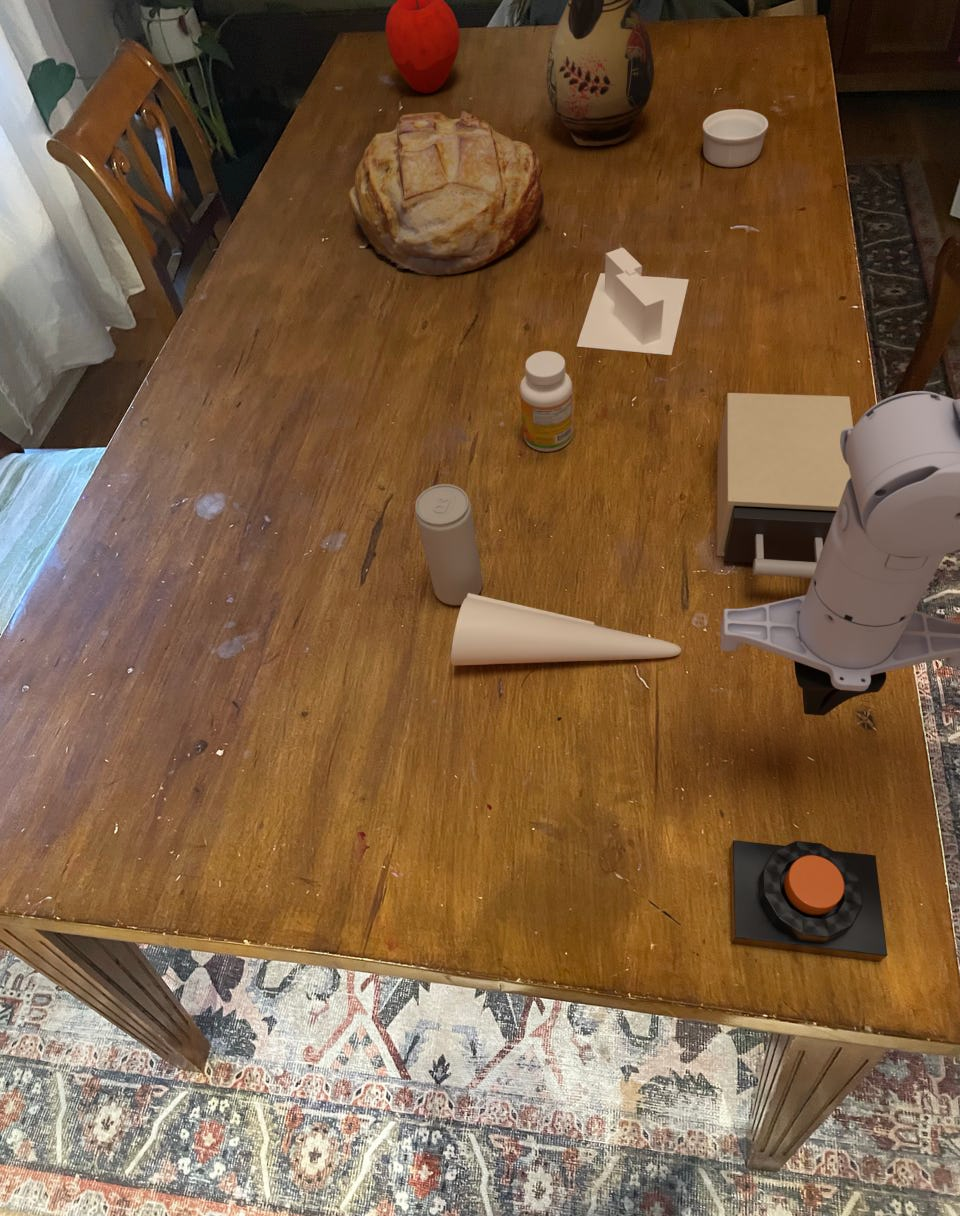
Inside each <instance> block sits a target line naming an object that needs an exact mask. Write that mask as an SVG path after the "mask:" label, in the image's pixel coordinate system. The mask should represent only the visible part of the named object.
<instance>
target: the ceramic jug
mask: <svg viewBox="0 0 960 1216" xmlns="http://www.w3.org/2000/svg"><path fill="white" fill-rule="evenodd" d="M654 78H655V64H654V55H653V49H652V44H651V39H650V36H649V32H648V29H647V27H646V25H645V23H644V20H643V18H642V16H641V14H640V12H639V10H638V8H637V7H636V4H635V2H634V0H568V1H567V3H566V6H565V7H564V10H563V12H562V15H561V16H560V19H559V21H558V22H557V26H556V28H555V31H554V32H553V36H552V39H551V42H550V47H549V50H548V58H547V66H546V89H547V95H548V99H549V100H548V101H549V103H550V104H551V107H552V109H553V112H554V113H555V115H556V116H557V117H558V119H559V120H560V121H561V122H562V123H563V124H564V125H565V127H566V128H567V129H568V130H569V133H570V136H571V137H572V139H573V141H574V142H575V144H576V145H577V146H589V147H601V146H611V145H616V144H619V143H621V142H623V141H625V140H627V139H629V138H630V137H632V136H633V135H634V130H633V126H634V124H635V121H636V120H637V119H638V118H639V116H640V115H641V114H642V112H643V110H644V109H645V108H646V105H647V104H648V101H649V99H650V96H651V92H652V90H653V87H654Z"/></svg>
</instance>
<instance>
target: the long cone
mask: <svg viewBox="0 0 960 1216" xmlns="http://www.w3.org/2000/svg"><path fill="white" fill-rule="evenodd" d="M681 653H682V648H681V647H680V646H679V645H678V644H676V643H672V642H670V641H666V640H663V639H659V638H655V637H650V636H645V635H640V634H635V633H631V632H626V631H622V630H617V629H613V628H610V627H609V628H608V627H603V626H601V625H596V624H595V621H590V620H588V619H587V620H586V619H582V618H579V617H578V618H577V617H574V616H571V615H570V616H569V615H565V614H561V613H557V612H552V611H548V610H544V609H540V608H535V607H530V606H526V605H522V604H519V603H518V604H517V603H513V602H510V601H504V600H500V599H497V598H491V597H488V596H482V595H479V594H478V595H475V594H471V593H468V594H467V597H466V598H465V599H464V601H463V603H462V605H460V609H459V611H458V615H457V619H456V623H455V627H454V631H453V637H452V643H451V651H450V664H451V666H453V667H454V666H477V665H478V666H481V665H500V664H501V665H503V664H533V663H534V664H535V663H562V662H564V663H565V662H590V661H592V662H593V661H619V660H621V661H622V660H647V659H648V660H649V659H662V658H664V659H665V658H673V657H676V656H678V655H680V654H681Z"/></svg>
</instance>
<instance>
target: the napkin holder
mask: <svg viewBox="0 0 960 1216" xmlns="http://www.w3.org/2000/svg"><path fill="white" fill-rule="evenodd" d="M604 256H605V259H604V261H605V262H604V263H605V264H604V272H600V273H599V275H598V279H597V282H596V284H595V285H596V286H595V288H594V290H593V295H592V297H591V301H590V303H589V307H588V310H587V314H586V316H585V319H584V322H583V325H582V327H581V331H580V334H579V338H578V341H577V342H576V347H580V348H589V349H598V350H599V349H601V350H612V351H621V352H633V353H642V354H643V353H645V354H654V355H666V356H672V354H673V351H674V347H675V342H676V338H677V332H678V329H679V325H680V320H681V316H682V312H683V307H684V303H685V298H686V294H687V290H688V285H689V281H690V279H687V278H674V277H660V276H648V275H647V276H645V275H642V272H643V265H642V264H641V263H640V262H639V261H638V260H637V259H636V258H634V257H633V255H631V253H629V251H628V250H626V249H625V248H624V247H620V248H617V249H614V250H611V251H609V252H608V251H607V252H605V255H604Z"/></svg>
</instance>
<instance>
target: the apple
mask: <svg viewBox="0 0 960 1216" xmlns="http://www.w3.org/2000/svg"><path fill="white" fill-rule="evenodd" d="M385 19H386V21H385V31H384V34H385V37H386V41H387V46H388V50H389V55H390V57H391V59H392V61H393V63H394V65H395V67H396V69H397V71H398V72H399V74H400V75H401V77H402V78H403V79H404V80H405V82H406V83H407V84H408V85H409V87H411V89H412V90H414V91H415V92H418V93H422V94H431V93H435V92H436V91H438V90H439V89H440V88H441V87H443V85H444V84H445V83H446V80H447V79H448V77H449V75H450V73H451V70H452V68H453V66H454V63H455V61H456V59H457V55H458V52H459V49H460V38H461V37H460V36H461V35H460V28H459V25H458V21H457V19H456V16H455V14H454V12H453V10H452V8H451V7H450V6H449V5H448V3H446V1H445V0H397V1H396V2H394V3H393V5H392V6H391V7H390V8H389V11H388V14H387V17H386V18H385Z"/></svg>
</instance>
